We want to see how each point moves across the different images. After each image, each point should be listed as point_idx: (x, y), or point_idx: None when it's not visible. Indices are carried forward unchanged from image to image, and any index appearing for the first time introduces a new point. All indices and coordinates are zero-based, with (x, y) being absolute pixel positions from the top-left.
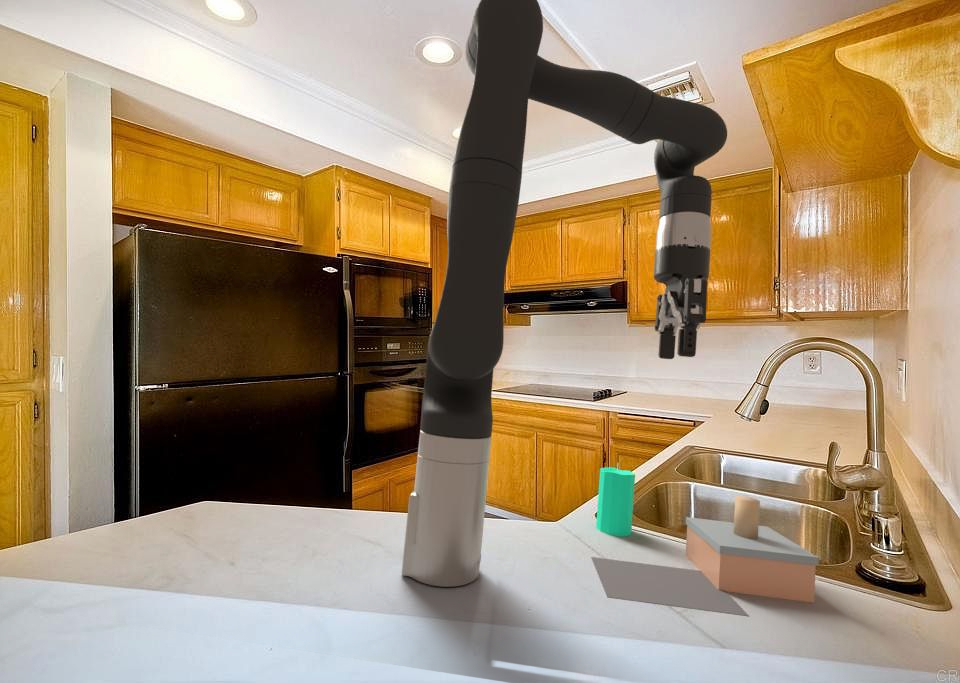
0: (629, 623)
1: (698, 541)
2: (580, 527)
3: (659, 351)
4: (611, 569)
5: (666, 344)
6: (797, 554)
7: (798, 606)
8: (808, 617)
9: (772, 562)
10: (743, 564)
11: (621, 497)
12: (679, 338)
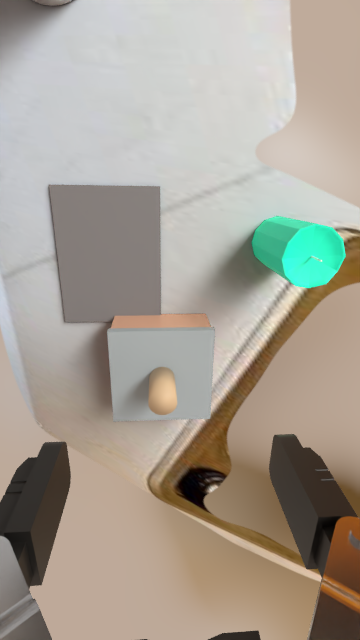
0: (9, 198)
1: (172, 325)
2: (285, 192)
3: (292, 448)
4: (127, 206)
5: (292, 495)
6: (114, 404)
7: None
8: (92, 375)
9: None
10: None
11: (269, 253)
12: (27, 490)
